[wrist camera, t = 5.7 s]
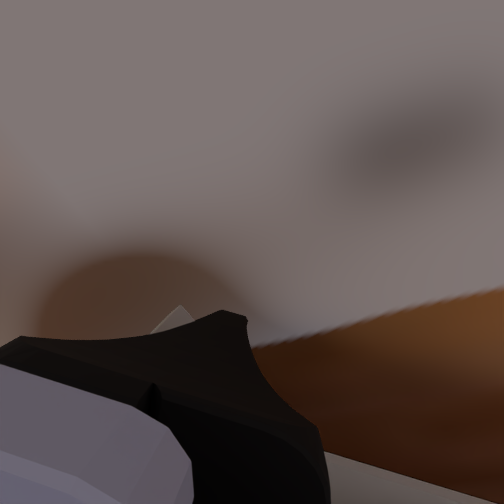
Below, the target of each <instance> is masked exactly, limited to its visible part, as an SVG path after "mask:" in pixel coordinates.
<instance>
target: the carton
mask: <svg viewBox="0 0 504 504" xmlns="http://www.w3.org/2000/svg"><path fill="white" fill-rule="evenodd" d="M324 454H325V458H326V463H327V468H328V474H329V480H330V490H331V504H496V503H493V502H490V501H486V500H483V499H480V498H476V497H473V496H470V495H467V494H463V493H460V492H457V491H453V490H450V489H447V488H443V487H440V486H437V485H434V484H430V483H427V482H424V481H420V480H417V479H414V478H410V477H407V476H404V475H401V474H397V473H394V472H391V471H387V470H384V469H381V468H377V467H374V466H371V465H368V464H364V463H361V462H358V461H354V460H351V459H348V458H344V457H341V456H338V455H335V454H331V453H328V452H325V451H324Z"/></svg>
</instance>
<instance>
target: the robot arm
mask: <svg viewBox="0 0 504 504" xmlns="http://www.w3.org/2000/svg"><path fill="white" fill-rule="evenodd" d="M247 322H248V320H247V319H246V316H243V315H239V314H236V313H232V312H229V311H224V310H219V311H217V312H214V313H212V314H210V315H208V316H205V317H203V318H200V319H198V320H195V321H193V322H190V323H187V324H184V325H181V326H178V327H175V328H172V329H169V330H166V331H162V332H158V333H153V334H149V335H144V336H137V337H129V338H119V339H110V340H61V339H49V338H36V337H26V336H20V337H18V338H16V339H14V340H12V341H11V342H9V343H7V344H5V345H3V346H2V347H0V504H331V490H330V480H329V474H328V468H327V463H326V458H325V454H324V450H323V446H322V442H321V438H320V434H319V431H318V428H317V427H316V426H315V425H314V424H312V423H311V422H310V421H308V420H307V419H306V418H304V417H303V416H301V415H300V414H299V413H297V412H296V411H295V410H293V409H292V408H291V407H290V406H289V405H288V404H287V403H286V402H285V401H284V400H283V399H282V398H281V397H280V396H279V395H278V394H277V393H276V392H275V391H274V390H273V389H272V387H271V386H270V385H269V383H268V382H267V381H266V380H265V378H264V377H263V375H262V373H261V371H260V370H259V368H258V366H257V363H256V361H255V359H254V356H253V353H252V351H251V347H250V344H249V340H248V336H247Z"/></svg>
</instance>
